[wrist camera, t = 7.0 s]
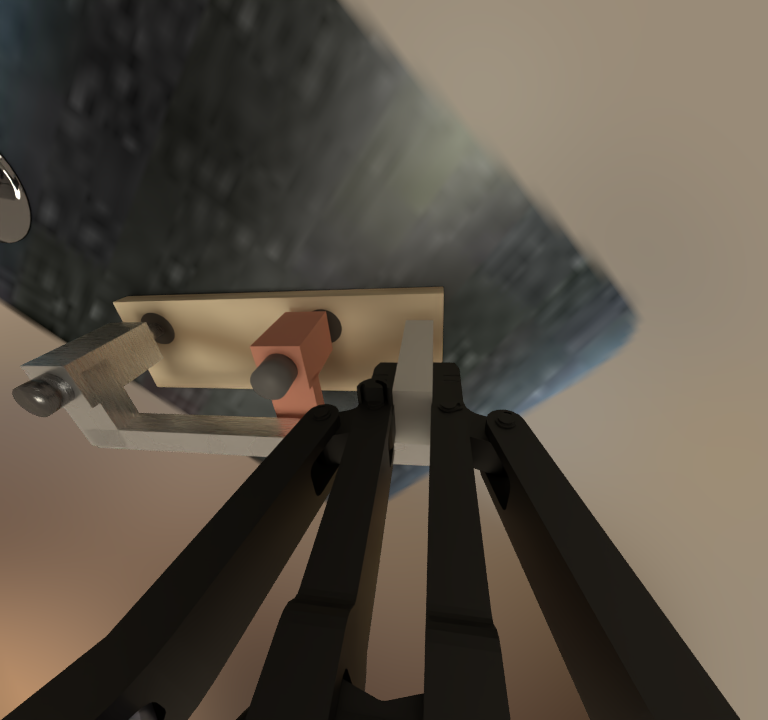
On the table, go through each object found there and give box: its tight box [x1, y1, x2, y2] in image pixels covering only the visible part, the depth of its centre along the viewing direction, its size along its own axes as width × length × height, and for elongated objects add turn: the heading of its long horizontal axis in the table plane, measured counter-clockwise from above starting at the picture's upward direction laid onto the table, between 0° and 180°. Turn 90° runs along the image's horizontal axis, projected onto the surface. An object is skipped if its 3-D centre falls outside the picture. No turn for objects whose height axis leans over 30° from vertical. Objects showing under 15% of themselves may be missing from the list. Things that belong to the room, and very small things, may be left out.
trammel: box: [12, 322, 430, 466], centre depth 18 cm, size 6×20×8 cm, turn 94°
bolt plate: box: [113, 287, 444, 391], centre depth 22 cm, size 7×22×1 cm, turn 95°
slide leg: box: [250, 311, 333, 419], centre depth 19 cm, size 8×3×6 cm, turn 4°
